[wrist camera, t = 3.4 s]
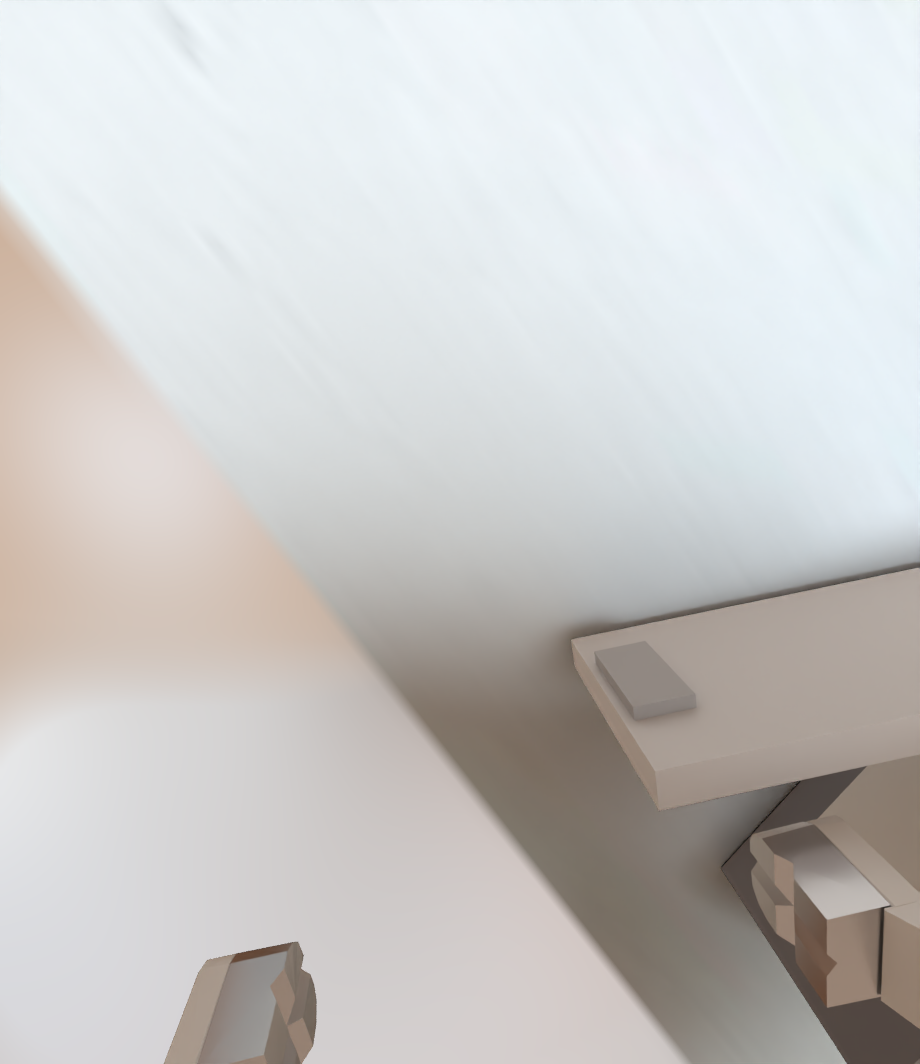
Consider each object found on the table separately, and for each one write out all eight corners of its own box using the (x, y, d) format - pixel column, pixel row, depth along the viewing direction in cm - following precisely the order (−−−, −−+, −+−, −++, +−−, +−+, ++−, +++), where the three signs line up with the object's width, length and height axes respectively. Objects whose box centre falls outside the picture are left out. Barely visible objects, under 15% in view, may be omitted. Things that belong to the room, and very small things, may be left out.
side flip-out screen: (998, 582, 14) (1300, 676, 9) (575, 670, 13) (659, 816, 9) (1003, 539, 13) (1317, 613, 9) (569, 628, 13) (653, 755, 8)
